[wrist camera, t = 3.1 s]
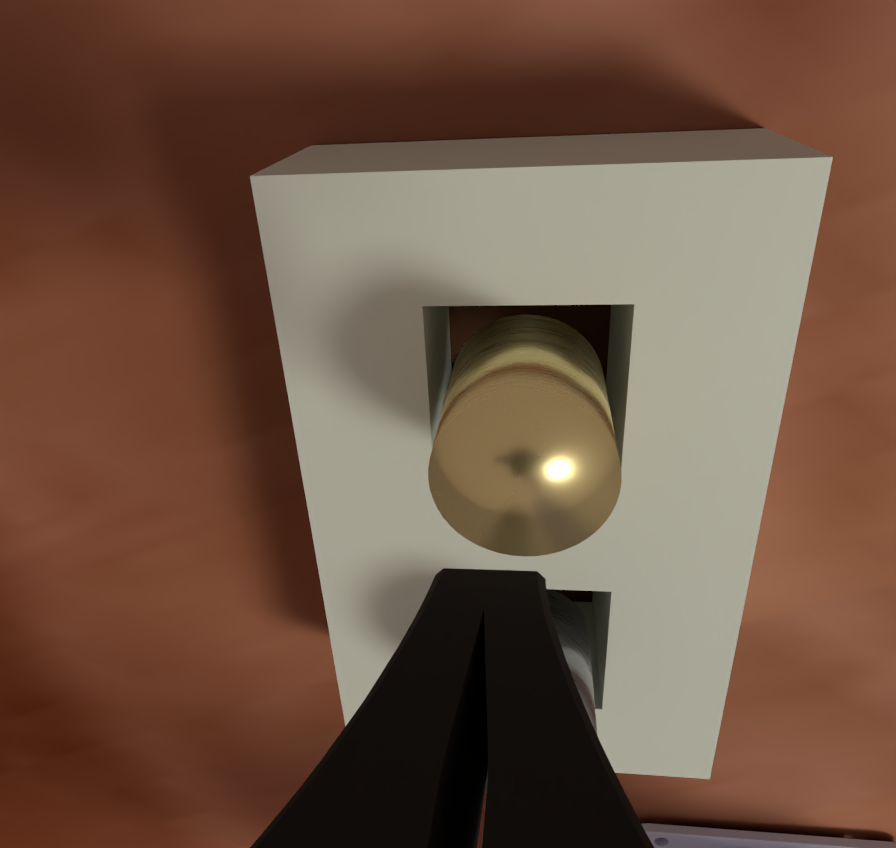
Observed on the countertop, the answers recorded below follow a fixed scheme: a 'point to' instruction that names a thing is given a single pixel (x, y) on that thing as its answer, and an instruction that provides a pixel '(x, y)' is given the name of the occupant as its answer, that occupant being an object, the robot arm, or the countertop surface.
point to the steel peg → (574, 647)
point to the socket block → (627, 383)
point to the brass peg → (526, 440)
